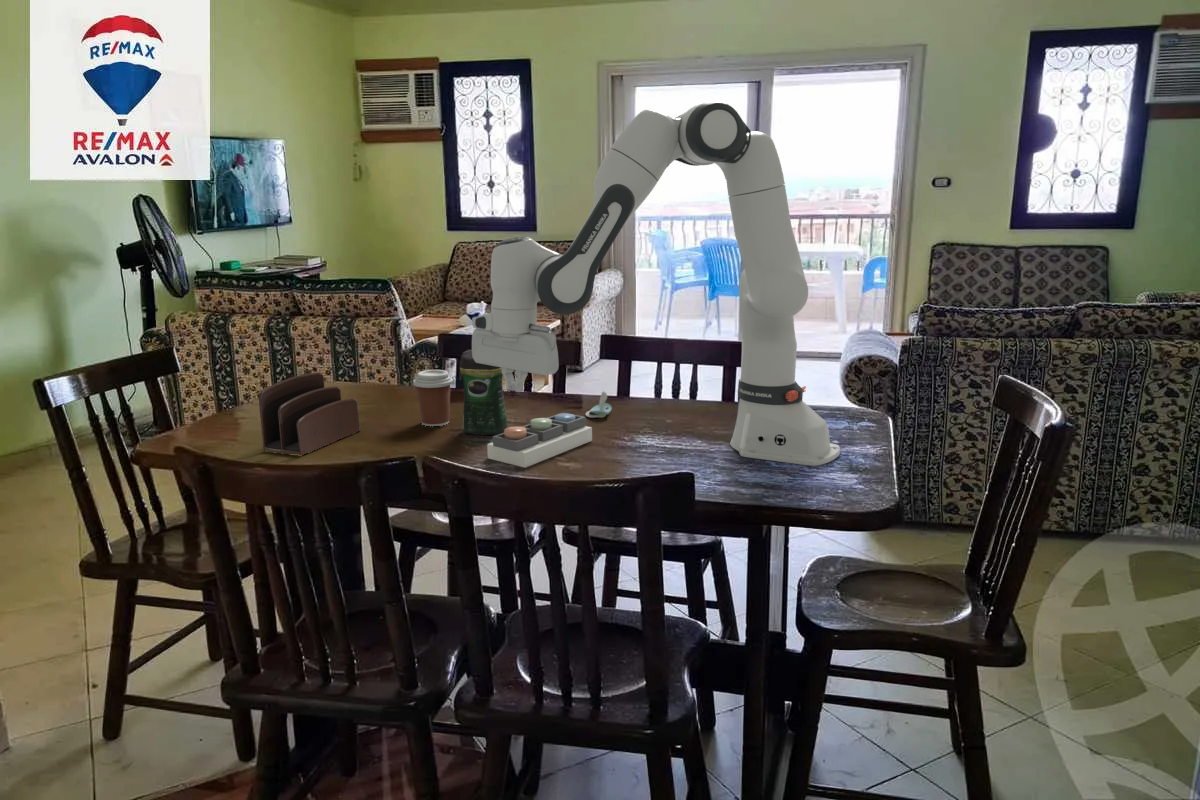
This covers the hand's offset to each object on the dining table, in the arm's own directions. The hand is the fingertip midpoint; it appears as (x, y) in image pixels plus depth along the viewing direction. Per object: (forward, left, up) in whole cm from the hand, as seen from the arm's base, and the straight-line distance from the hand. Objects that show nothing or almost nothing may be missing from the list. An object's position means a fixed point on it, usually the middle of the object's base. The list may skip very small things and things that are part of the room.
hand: (514, 390), depth 167 cm
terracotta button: (-1, +1, -9) cm, 9 cm away
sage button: (-1, -7, -9) cm, 12 cm away
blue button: (-1, -15, -10) cm, 18 cm away
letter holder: (+43, +17, -14) cm, 49 cm away
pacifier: (+6, -36, -14) cm, 39 cm away
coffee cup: (+32, -8, -14) cm, 36 cm away
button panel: (-1, -7, -14) cm, 16 cm away
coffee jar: (+18, -10, -14) cm, 25 cm away
